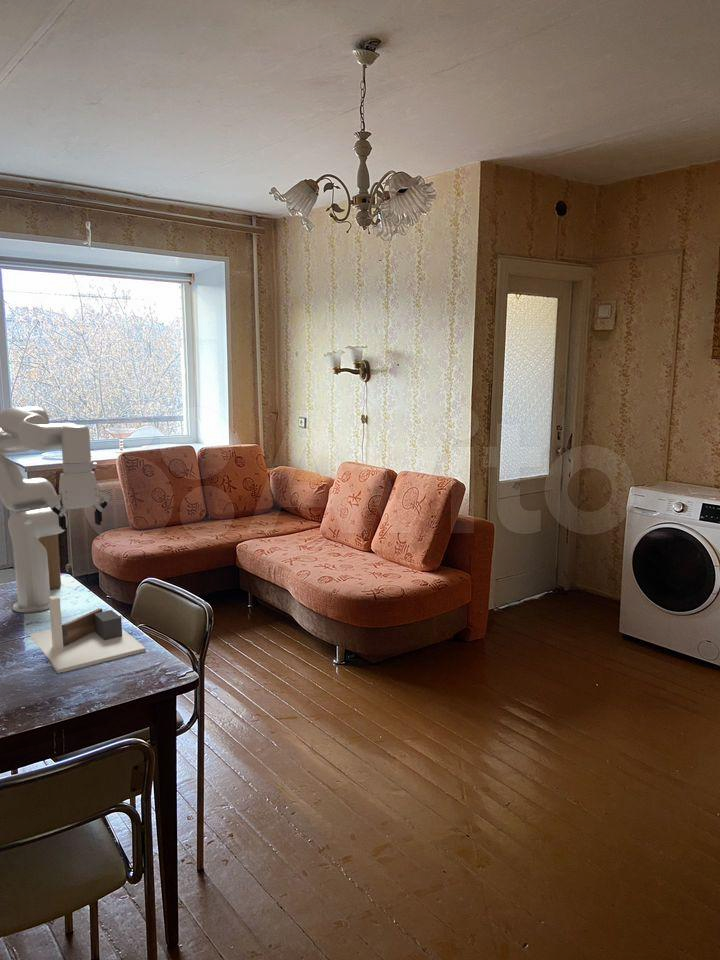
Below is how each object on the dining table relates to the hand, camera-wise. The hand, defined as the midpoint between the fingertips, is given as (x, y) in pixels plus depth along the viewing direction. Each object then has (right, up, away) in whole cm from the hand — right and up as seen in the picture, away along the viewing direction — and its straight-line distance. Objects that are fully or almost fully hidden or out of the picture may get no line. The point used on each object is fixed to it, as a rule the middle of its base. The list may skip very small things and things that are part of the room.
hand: (81, 526), depth 203 cm
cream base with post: (+5, -32, -9) cm, 34 cm away
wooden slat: (+3, -30, -6) cm, 31 cm away
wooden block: (-29, -24, +42) cm, 57 cm away
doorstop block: (+10, -30, -4) cm, 32 cm away
